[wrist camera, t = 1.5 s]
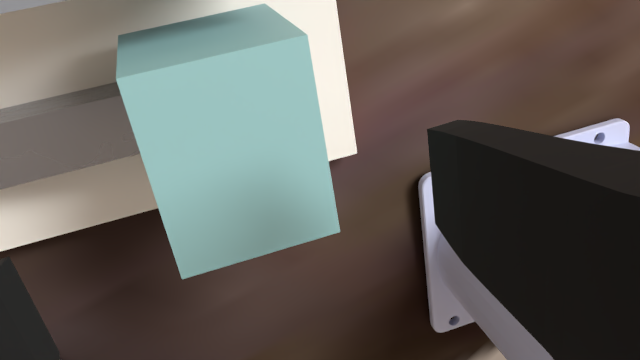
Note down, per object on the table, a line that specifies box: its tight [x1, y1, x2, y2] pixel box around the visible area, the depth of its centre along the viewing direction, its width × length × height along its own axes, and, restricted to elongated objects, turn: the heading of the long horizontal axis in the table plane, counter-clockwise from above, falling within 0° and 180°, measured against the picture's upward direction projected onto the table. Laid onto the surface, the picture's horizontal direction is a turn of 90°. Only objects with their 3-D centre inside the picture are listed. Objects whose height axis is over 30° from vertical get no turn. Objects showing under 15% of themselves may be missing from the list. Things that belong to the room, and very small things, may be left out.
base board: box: [0, 0, 357, 251], centre depth 17 cm, size 19×13×1 cm
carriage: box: [116, 3, 340, 279], centre depth 16 cm, size 4×5×5 cm
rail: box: [0, 82, 140, 189], centre depth 17 cm, size 16×2×2 cm, turn 99°
